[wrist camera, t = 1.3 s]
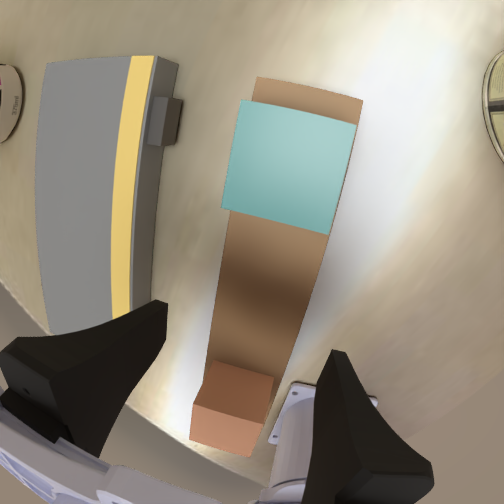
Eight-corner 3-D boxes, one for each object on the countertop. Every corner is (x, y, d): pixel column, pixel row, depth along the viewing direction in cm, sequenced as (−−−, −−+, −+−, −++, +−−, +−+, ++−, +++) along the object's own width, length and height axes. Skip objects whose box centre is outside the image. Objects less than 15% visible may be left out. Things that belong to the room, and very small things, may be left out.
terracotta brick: (261, 413, 21) (249, 457, 17) (207, 398, 21) (189, 439, 17) (274, 377, 19) (263, 424, 15) (213, 360, 20) (192, 403, 16)
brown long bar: (273, 382, 26) (263, 426, 21) (217, 367, 26) (199, 408, 22) (351, 109, 17) (363, 100, 13) (271, 90, 18) (256, 76, 13)
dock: (159, 355, 27) (144, 377, 24) (67, 317, 29) (49, 332, 26) (192, 65, 18) (172, 56, 15) (71, 66, 19) (45, 63, 16)
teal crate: (326, 209, 15) (328, 235, 11) (244, 189, 15) (220, 207, 12) (346, 127, 13) (356, 125, 10) (261, 108, 14) (241, 99, 10)
